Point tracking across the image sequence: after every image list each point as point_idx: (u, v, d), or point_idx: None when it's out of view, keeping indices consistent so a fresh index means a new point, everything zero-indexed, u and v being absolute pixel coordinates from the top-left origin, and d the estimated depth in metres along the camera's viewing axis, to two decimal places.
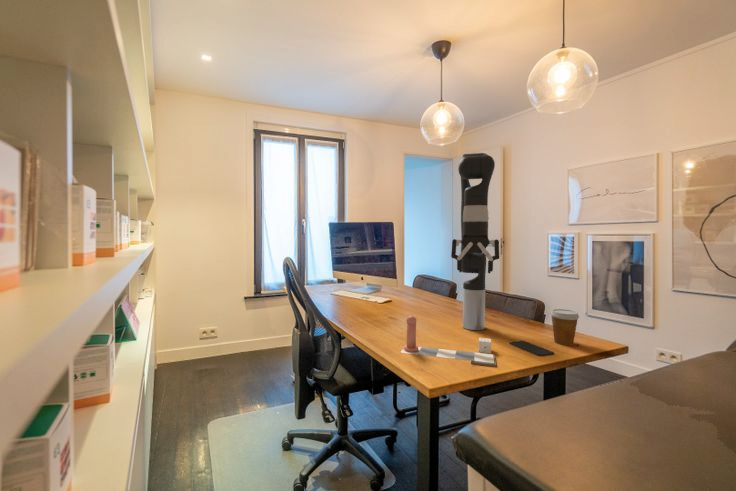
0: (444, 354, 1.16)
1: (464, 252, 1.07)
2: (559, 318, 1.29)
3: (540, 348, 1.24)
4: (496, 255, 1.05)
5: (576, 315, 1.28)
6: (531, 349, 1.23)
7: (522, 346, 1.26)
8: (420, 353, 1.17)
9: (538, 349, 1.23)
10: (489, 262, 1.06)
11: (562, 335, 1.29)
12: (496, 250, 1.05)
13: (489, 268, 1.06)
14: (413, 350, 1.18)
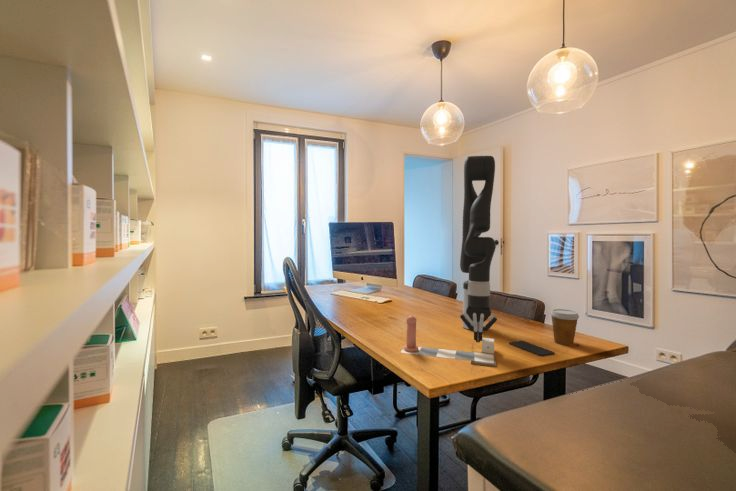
0: (444, 354, 1.16)
1: (475, 323, 1.21)
2: (559, 318, 1.29)
3: (540, 348, 1.24)
4: (486, 327, 1.21)
5: (576, 315, 1.28)
6: (531, 349, 1.23)
7: (522, 346, 1.26)
8: (420, 353, 1.17)
9: (538, 349, 1.23)
10: (479, 333, 1.22)
11: (562, 335, 1.29)
12: (489, 324, 1.21)
13: (479, 338, 1.22)
14: (413, 350, 1.18)
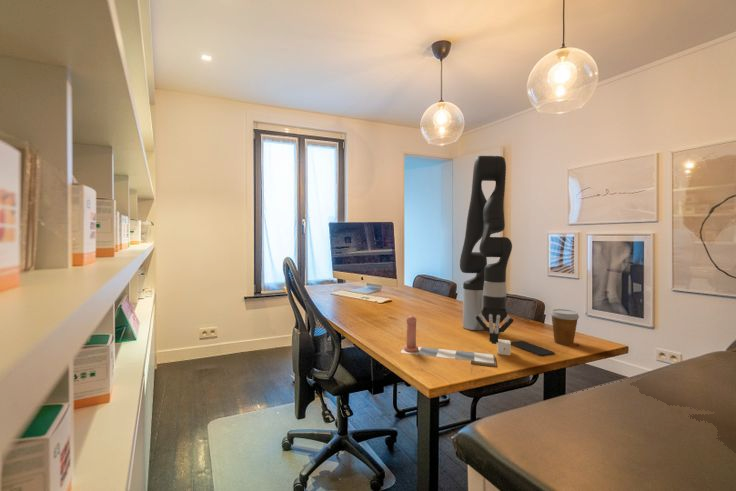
0: (444, 354, 1.16)
1: (491, 324, 1.20)
2: (559, 318, 1.29)
3: (540, 348, 1.24)
4: (502, 329, 1.19)
5: (576, 315, 1.28)
6: (531, 349, 1.23)
7: (522, 346, 1.26)
8: (420, 353, 1.17)
9: (538, 349, 1.23)
10: (495, 334, 1.20)
11: (562, 335, 1.29)
12: (505, 325, 1.19)
13: (495, 339, 1.20)
14: (413, 350, 1.18)
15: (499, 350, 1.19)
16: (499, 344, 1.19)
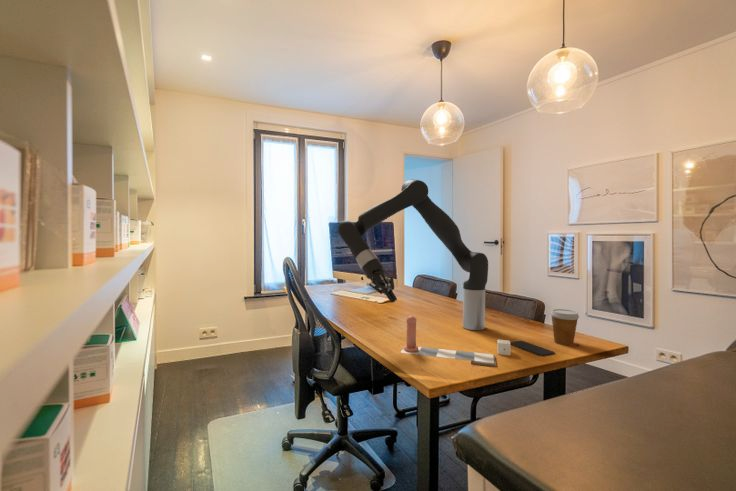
0: (444, 354, 1.16)
1: None
2: (559, 318, 1.29)
3: (540, 348, 1.24)
4: None
5: (576, 315, 1.28)
6: (532, 349, 1.23)
7: (522, 346, 1.26)
8: (420, 353, 1.17)
9: (538, 348, 1.23)
10: None
11: (562, 335, 1.29)
12: None
13: None
14: (413, 350, 1.18)
15: (499, 350, 1.19)
16: (499, 344, 1.19)
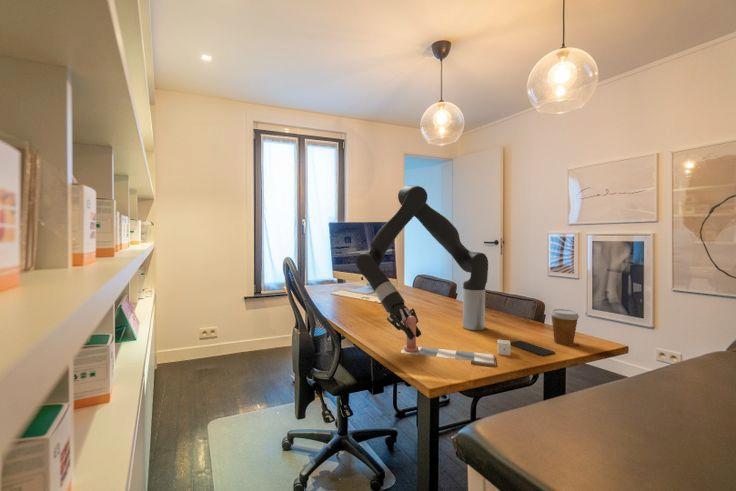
0: (444, 354, 1.16)
1: None
2: (559, 318, 1.29)
3: (540, 348, 1.24)
4: None
5: (576, 315, 1.28)
6: (532, 349, 1.23)
7: (522, 346, 1.26)
8: (420, 353, 1.17)
9: (538, 348, 1.24)
10: None
11: (562, 335, 1.29)
12: None
13: None
14: (413, 350, 1.18)
15: (499, 350, 1.19)
16: (499, 344, 1.19)
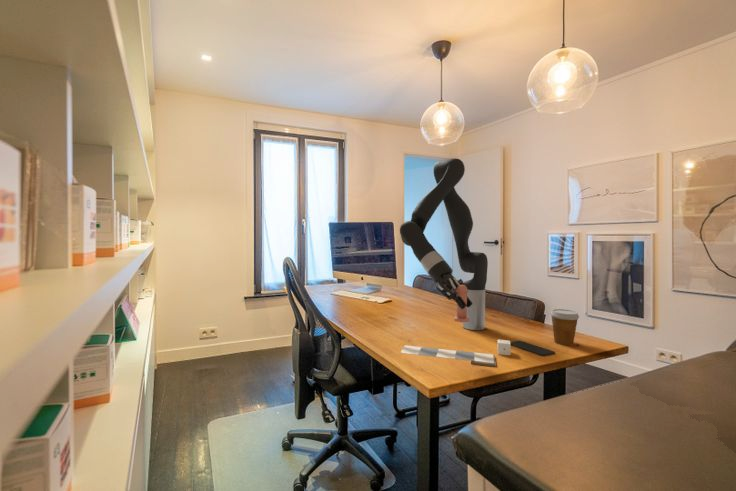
0: (444, 354, 1.16)
1: None
2: (559, 318, 1.29)
3: (540, 348, 1.24)
4: None
5: (576, 315, 1.28)
6: (532, 349, 1.23)
7: (522, 346, 1.26)
8: (420, 353, 1.17)
9: (538, 348, 1.24)
10: None
11: (562, 335, 1.29)
12: None
13: None
14: (465, 320, 1.13)
15: (499, 350, 1.19)
16: (499, 344, 1.19)
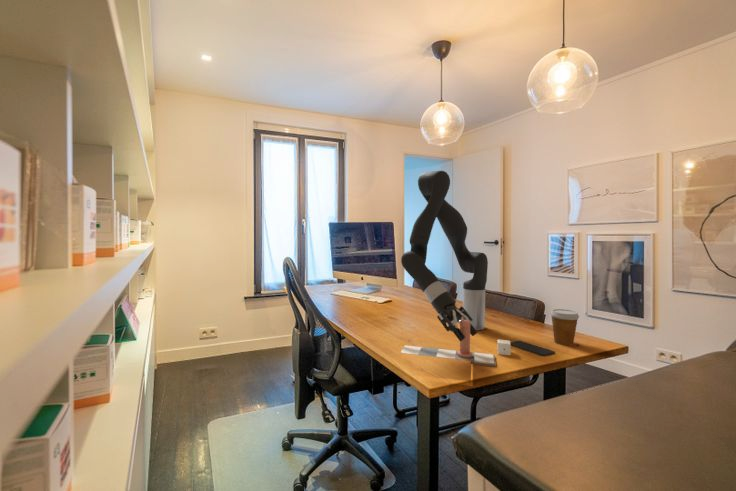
0: (444, 354, 1.16)
1: None
2: (559, 318, 1.29)
3: (540, 348, 1.24)
4: None
5: (576, 315, 1.28)
6: (532, 349, 1.23)
7: (522, 346, 1.26)
8: (420, 353, 1.17)
9: (538, 348, 1.24)
10: None
11: (562, 335, 1.29)
12: None
13: None
14: (468, 356, 1.13)
15: (499, 350, 1.19)
16: (499, 344, 1.19)
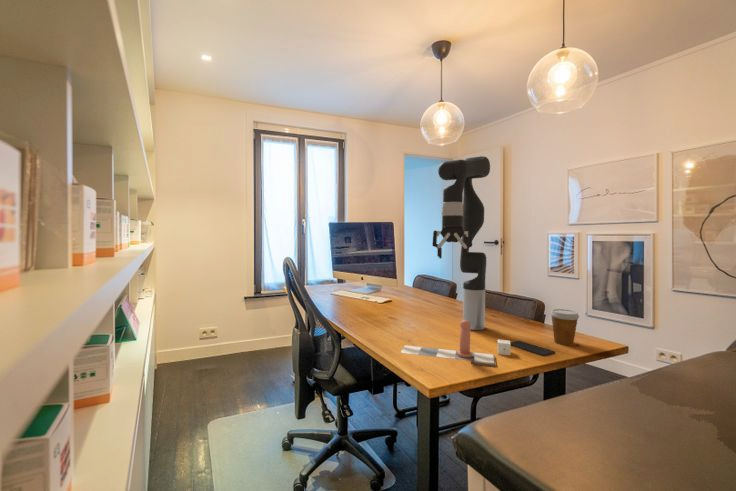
0: (444, 354, 1.16)
1: (443, 241, 1.28)
2: (559, 318, 1.29)
3: (540, 348, 1.25)
4: (469, 243, 1.25)
5: (576, 315, 1.28)
6: (532, 349, 1.23)
7: (522, 346, 1.25)
8: (420, 353, 1.17)
9: (538, 348, 1.24)
10: (464, 249, 1.26)
11: (562, 335, 1.29)
12: (469, 239, 1.25)
13: (464, 254, 1.26)
14: (468, 356, 1.13)
15: (499, 350, 1.19)
16: (499, 344, 1.19)
